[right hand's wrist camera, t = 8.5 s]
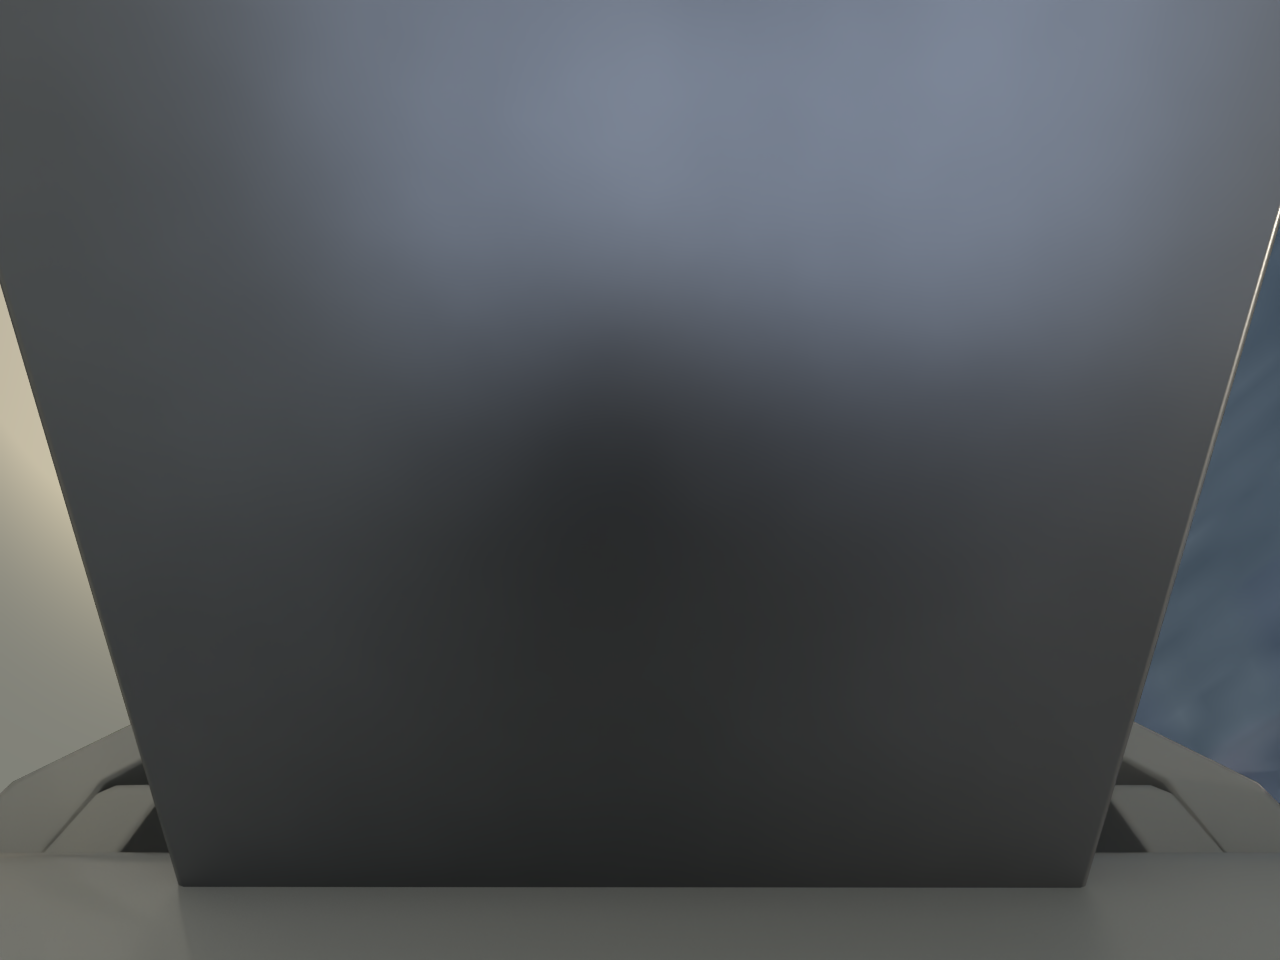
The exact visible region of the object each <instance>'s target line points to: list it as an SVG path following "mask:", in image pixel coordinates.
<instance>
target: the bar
mask: <svg viewBox="0 0 1280 960" xmlns="http://www.w3.org/2000/svg"><path fill="white" fill-rule="evenodd" d="M1279 224H1280V0H0V284H1V288H2V291H3V294H4V298H5V301H6V305H7V308H8V311H9V315H10V318H11V321H12V325H13V328H14V331H15V335H16V338H17V342H18V345H19V348H20V352H21V355H22V359H23V362H24V365H25V369H26V372H27V375H28V379H29V382H30V386H31V389H32V392H33V396H34V399H35V402H36V406H37V409H38V413H39V416H40V419H41V423H42V426H43V429H44V433H45V436H46V440H47V443H48V446H49V450H50V453H51V456H52V460H53V463H54V466H55V470H56V473H57V477H58V480H59V483H60V487H61V490H62V493H63V497H64V500H65V504H66V507H67V510H68V514H69V517H70V521H71V524H72V527H73V531H74V534H75V537H76V541H77V544H78V548H79V551H80V554H81V558H82V561H83V564H84V567H85V571H86V574H87V578H88V581H89V585H90V588H91V591H92V595H93V598H94V602H95V605H96V608H97V611H98V615H99V618H100V622H101V625H102V628H103V632H104V635H105V638H106V642H107V645H108V649H109V652H110V656H111V659H112V662H113V665H114V669H115V672H116V676H117V679H118V683H119V686H120V689H121V692H122V696H123V699H124V703H125V706H126V709H127V713H128V716H129V720H130V723H131V726H132V730H133V733H134V736H135V740H136V743H137V747H138V750H139V753H140V757H141V760H142V763H143V767H144V770H145V774H146V777H147V780H148V784H149V787H150V790H151V794H152V797H153V801H154V804H155V807H156V811H157V814H158V817H159V821H160V824H161V828H162V831H163V834H164V838H165V841H166V844H167V848H168V851H169V855H170V858H171V861H172V865H173V868H174V871H175V875H176V878H177V882H178V885H180V886H183V887H800V888H1081V887H1084V886H1086V882H1087V879H1088V876H1089V872H1090V869H1091V865H1092V862H1093V858H1094V855H1095V852H1096V848H1097V845H1098V841H1099V838H1100V835H1101V831H1102V828H1103V824H1104V821H1105V818H1106V814H1107V811H1108V807H1109V804H1110V800H1111V797H1112V794H1113V790H1114V787H1115V783H1116V780H1117V777H1118V773H1119V770H1120V766H1121V763H1122V760H1123V756H1124V753H1125V749H1126V746H1127V742H1128V739H1129V736H1130V732H1131V729H1132V725H1133V722H1134V719H1135V715H1136V712H1137V708H1138V705H1139V702H1140V698H1141V695H1142V691H1143V688H1144V684H1145V681H1146V678H1147V674H1148V671H1149V667H1150V664H1151V661H1152V657H1153V654H1154V650H1155V647H1156V644H1157V640H1158V637H1159V633H1160V630H1161V626H1162V623H1163V620H1164V616H1165V613H1166V609H1167V606H1168V603H1169V599H1170V596H1171V592H1172V589H1173V586H1174V582H1175V579H1176V575H1177V572H1178V568H1179V565H1180V562H1181V558H1182V555H1183V551H1184V548H1185V545H1186V541H1187V538H1188V534H1189V531H1190V528H1191V524H1192V521H1193V517H1194V514H1195V510H1196V507H1197V504H1198V500H1199V497H1200V493H1201V490H1202V487H1203V483H1204V480H1205V476H1206V473H1207V469H1208V466H1209V463H1210V459H1211V456H1212V452H1213V449H1214V446H1215V442H1216V439H1217V435H1218V432H1219V429H1220V425H1221V422H1222V418H1223V415H1224V411H1225V408H1226V405H1227V401H1228V398H1229V394H1230V391H1231V388H1232V384H1233V381H1234V377H1235V374H1236V371H1237V367H1238V364H1239V360H1240V357H1241V353H1242V350H1243V347H1244V343H1245V340H1246V336H1247V333H1248V330H1249V326H1250V323H1251V319H1252V316H1253V313H1254V309H1255V306H1256V302H1257V299H1258V295H1259V292H1260V289H1261V285H1262V282H1263V278H1264V275H1265V272H1266V268H1267V265H1268V261H1269V258H1270V255H1271V251H1272V248H1273V244H1274V241H1275V237H1276V234H1277V231H1278V227H1279Z"/></svg>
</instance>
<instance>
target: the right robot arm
mask: <svg viewBox="0 0 1280 960" xmlns="http://www.w3.org/2000/svg"><path fill="white" fill-rule="evenodd" d="M0 960H1280V804H1279V803H1278V802H1277V801H1276V800H1275V799H1274V798H1273V797H1272V796H1271V795H1270V794H1269V793H1268V792H1267V791H1266V790H1265V789H1264V788H1263V787H1262V786H1261V785H1260V784H1259V783H1257V782H1255V781H1253V780H1251V779H1249V778H1247V777H1245V776H1243V775H1241V774H1239V773H1237V772H1235V771H1233V770H1231V769H1229V768H1227V767H1225V766H1223V765H1221V764H1219V763H1217V762H1215V761H1213V760H1211V759H1209V758H1206V757H1204V756H1202V755H1200V754H1198V753H1196V752H1194V751H1192V750H1190V749H1188V748H1186V747H1184V746H1182V745H1180V744H1178V743H1176V742H1174V741H1172V740H1170V739H1168V738H1166V737H1164V736H1162V735H1160V734H1158V733H1156V732H1154V731H1152V730H1150V729H1148V728H1146V727H1143V726H1141V725H1139V724H1137V723H1135V722H1133V725H1132V729H1131V732H1130V736H1129V739H1128V742H1127V746H1126V749H1125V753H1124V756H1123V760H1122V763H1121V766H1120V770H1119V773H1118V777H1117V780H1116V783H1115V787H1114V790H1113V794H1112V797H1111V800H1110V804H1109V807H1108V811H1107V814H1106V818H1105V821H1104V824H1103V828H1102V831H1101V835H1100V838H1099V841H1098V845H1097V848H1096V852H1095V855H1094V858H1093V862H1092V865H1091V869H1090V872H1089V876H1088V879H1087V882H1086V886H1084V887H1081V888H800V887H183V886H180V885H178V882H177V878H176V875H175V871H174V868H173V865H172V861H171V858H170V855H169V851H168V848H167V844H166V841H165V838H164V834H163V831H162V828H161V824H160V821H159V817H158V814H157V811H156V807H155V804H154V801H153V797H152V794H151V790H150V787H149V784H148V780H147V777H146V774H145V770H144V767H143V763H142V760H141V757H140V753H139V750H138V747H137V743H136V740H135V736H134V733H133V730H132V726H131V725H129V726H126V727H124V728H122V729H120V730H118V731H116V732H114V733H112V734H110V735H108V736H106V737H104V738H102V739H100V740H98V741H96V742H94V743H91V744H89V745H87V746H85V747H83V748H81V749H79V750H77V751H75V752H73V753H71V754H69V755H67V756H65V757H63V758H61V759H59V760H56V761H55V762H52V763H50V764H48V765H46V766H44V767H42V768H40V769H38V770H36V771H34V772H32V773H30V774H28V775H26V776H24V777H21V778H19V779H17V780H15V781H13V782H12V783H11V784H10V785H9V786H8V787H7V788H6V789H5V790H4V791H3V792H2V793H1V794H0Z"/></svg>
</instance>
